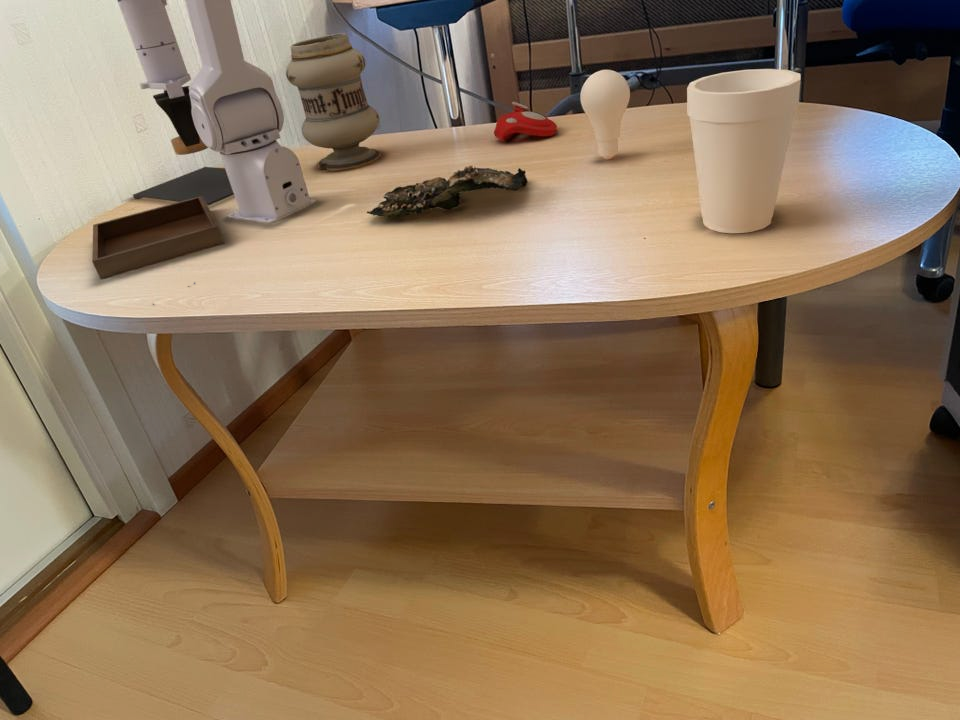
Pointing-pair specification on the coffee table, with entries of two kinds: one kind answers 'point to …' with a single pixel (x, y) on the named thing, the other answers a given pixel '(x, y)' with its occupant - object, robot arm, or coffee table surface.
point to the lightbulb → (605, 108)
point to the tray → (153, 236)
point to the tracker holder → (523, 123)
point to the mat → (192, 187)
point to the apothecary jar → (334, 100)
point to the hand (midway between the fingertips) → (190, 141)
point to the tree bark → (445, 191)
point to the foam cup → (741, 144)
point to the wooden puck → (182, 149)
